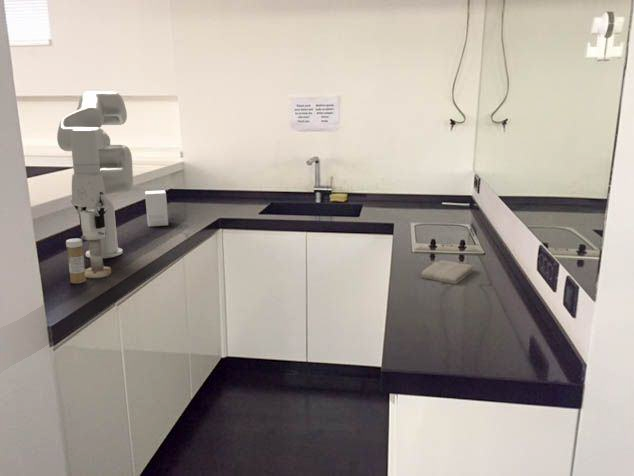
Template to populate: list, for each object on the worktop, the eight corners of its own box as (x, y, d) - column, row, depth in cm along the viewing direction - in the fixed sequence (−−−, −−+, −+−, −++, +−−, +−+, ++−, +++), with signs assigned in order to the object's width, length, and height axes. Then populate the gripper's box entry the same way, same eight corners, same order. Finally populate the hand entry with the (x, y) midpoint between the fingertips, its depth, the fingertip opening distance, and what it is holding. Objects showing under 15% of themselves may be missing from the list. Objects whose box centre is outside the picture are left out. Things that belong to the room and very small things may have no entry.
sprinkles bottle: (73, 279, 168) (68, 238, 165) (88, 279, 168) (84, 237, 165) (68, 284, 164) (63, 241, 160) (83, 283, 164) (79, 241, 161)
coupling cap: (77, 238, 169) (74, 211, 167) (100, 233, 175) (97, 208, 173) (91, 242, 164) (89, 215, 162) (115, 237, 170) (112, 211, 168)
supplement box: (167, 221, 251) (165, 189, 247) (168, 225, 242) (166, 192, 239) (147, 222, 248) (144, 190, 244) (147, 226, 240) (145, 193, 236)
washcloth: (474, 271, 179) (475, 263, 178) (456, 286, 165) (457, 277, 164) (440, 265, 186) (440, 257, 185) (420, 279, 171) (420, 270, 170)
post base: (88, 270, 176) (85, 235, 174) (113, 270, 177) (110, 235, 174) (81, 278, 169) (77, 241, 166) (107, 277, 170) (104, 241, 167)
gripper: (56, 169, 165) (63, 226, 169) (98, 172, 158) (103, 232, 162) (76, 167, 172) (82, 221, 176) (117, 169, 164) (122, 227, 169)
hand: (92, 226), depth 169 cm, fingers closed on coupling cap, 5 cm apart
